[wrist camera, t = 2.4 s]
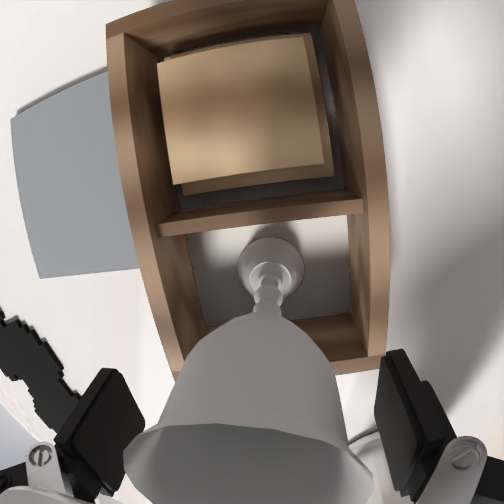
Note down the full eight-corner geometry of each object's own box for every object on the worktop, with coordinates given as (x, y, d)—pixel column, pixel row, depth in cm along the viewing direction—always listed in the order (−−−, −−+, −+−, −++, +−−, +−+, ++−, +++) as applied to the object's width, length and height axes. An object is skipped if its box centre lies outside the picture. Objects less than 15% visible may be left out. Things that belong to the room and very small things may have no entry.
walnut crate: (364, 323, 24) (383, 367, 18) (195, 339, 26) (175, 383, 20) (332, 17, 17) (346, -22, 12) (143, 48, 19) (105, 24, 13)
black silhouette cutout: (151, 461, 34) (15, 272, 26) (149, 466, 33) (10, 276, 26) (81, 459, 37) (-30, 307, 30) (79, 462, 36) (-34, 310, 29)
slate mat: (144, 264, 24) (140, 268, 23) (44, 275, 26) (39, 278, 25) (113, 72, 20) (108, 70, 19) (15, 119, 21) (10, 119, 20)
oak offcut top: (319, 163, 19) (324, 163, 17) (183, 182, 20) (173, 185, 18) (300, 47, 17) (302, 36, 15) (167, 70, 18) (156, 63, 16)
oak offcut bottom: (328, 173, 22) (334, 175, 19) (193, 191, 23) (183, 195, 20) (307, 44, 19) (310, 32, 16) (175, 66, 20) (164, 58, 18)
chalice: (208, 245, 23) (74, 434, 6) (292, 206, 22) (330, 383, 5) (251, 324, 25) (212, 540, 8) (330, 292, 24) (390, 513, 6)
